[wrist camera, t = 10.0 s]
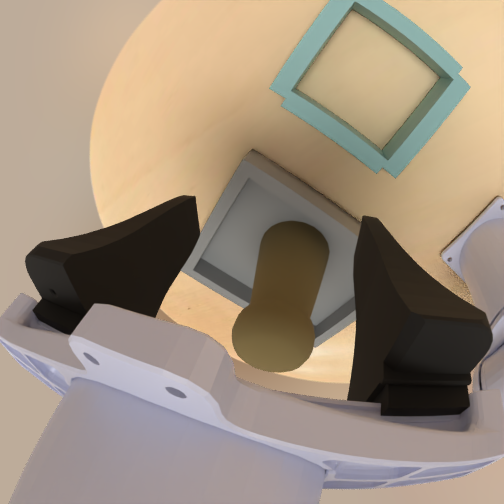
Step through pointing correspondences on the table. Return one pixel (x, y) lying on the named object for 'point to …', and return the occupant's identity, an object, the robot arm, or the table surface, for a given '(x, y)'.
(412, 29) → the teal collar
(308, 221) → the charcoal tray
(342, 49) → the table surface
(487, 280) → the robot arm
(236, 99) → the table surface
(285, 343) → the cork
